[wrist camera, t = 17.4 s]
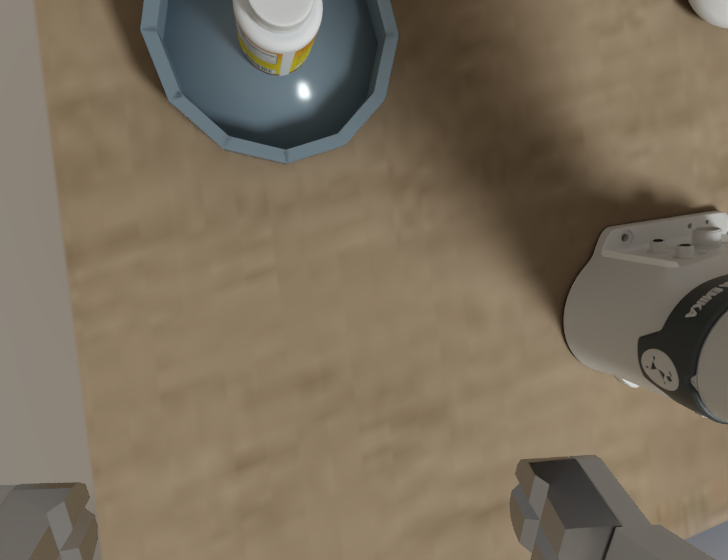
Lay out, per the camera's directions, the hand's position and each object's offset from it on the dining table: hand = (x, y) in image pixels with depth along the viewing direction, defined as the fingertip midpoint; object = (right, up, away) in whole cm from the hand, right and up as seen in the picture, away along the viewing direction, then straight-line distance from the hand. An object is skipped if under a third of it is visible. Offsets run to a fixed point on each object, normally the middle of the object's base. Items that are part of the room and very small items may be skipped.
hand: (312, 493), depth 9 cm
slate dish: (-6, +23, +28) cm, 37 cm away
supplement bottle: (-6, +23, +27) cm, 36 cm away
